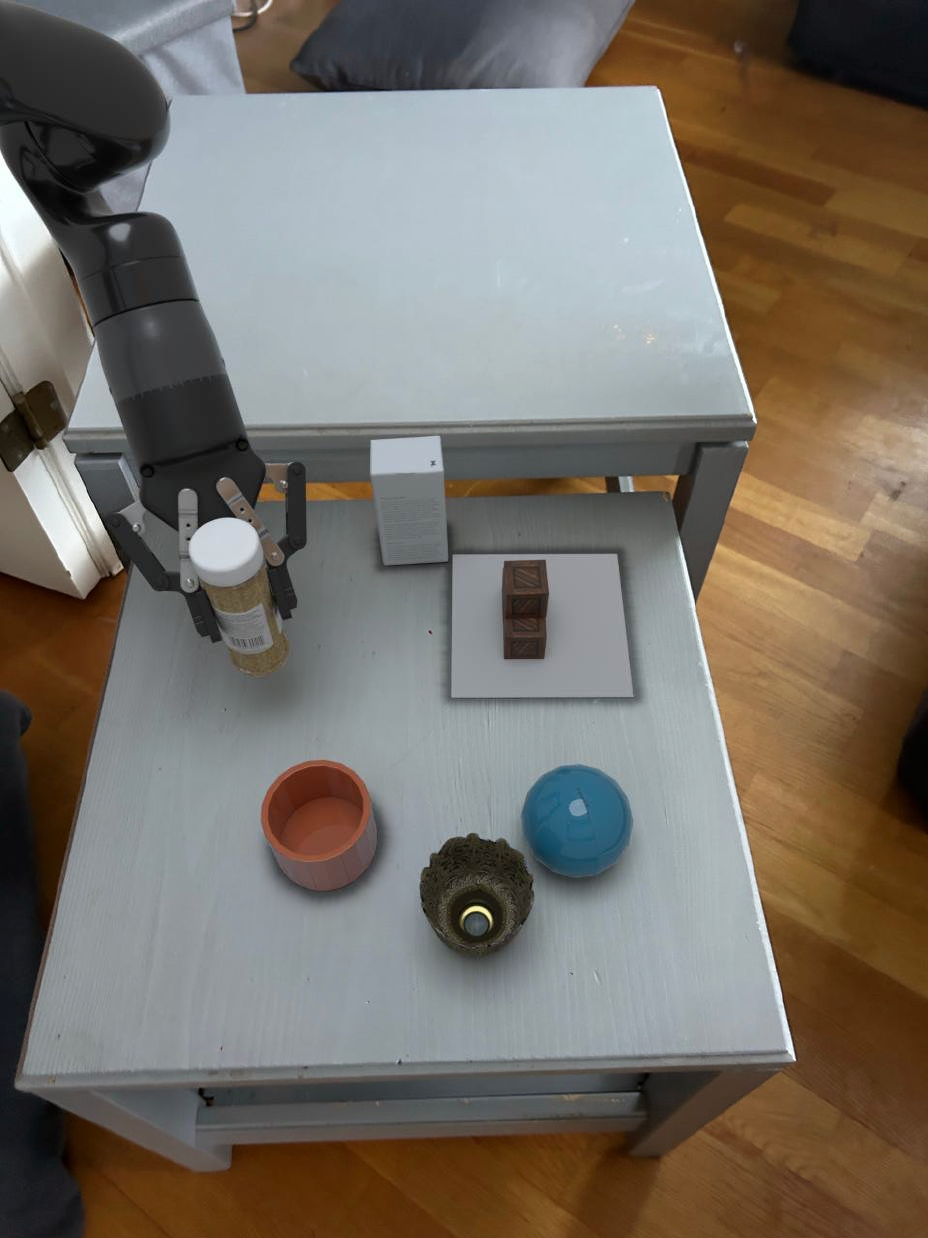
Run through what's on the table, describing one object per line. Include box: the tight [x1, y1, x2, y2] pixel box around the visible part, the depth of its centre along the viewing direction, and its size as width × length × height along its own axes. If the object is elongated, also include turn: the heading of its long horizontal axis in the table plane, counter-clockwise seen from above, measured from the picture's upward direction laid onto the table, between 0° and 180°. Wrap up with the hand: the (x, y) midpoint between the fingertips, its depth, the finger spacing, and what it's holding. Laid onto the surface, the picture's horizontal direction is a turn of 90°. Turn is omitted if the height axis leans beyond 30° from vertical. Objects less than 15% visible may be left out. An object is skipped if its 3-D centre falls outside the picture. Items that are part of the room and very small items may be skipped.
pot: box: [260, 759, 378, 892], centre depth 68 cm, size 8×8×6 cm
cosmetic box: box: [369, 435, 449, 566], centre depth 82 cm, size 6×4×12 cm
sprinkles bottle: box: [189, 518, 290, 677], centre depth 66 cm, size 5×5×13 cm
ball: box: [520, 763, 634, 879], centre depth 67 cm, size 8×8×8 cm
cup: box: [418, 832, 535, 958], centre depth 64 cm, size 8×7×8 cm
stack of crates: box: [450, 553, 634, 699], centre depth 79 cm, size 15×15×7 cm
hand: (252, 627), depth 66 cm, fingers closed on sprinkles bottle, 4 cm apart
